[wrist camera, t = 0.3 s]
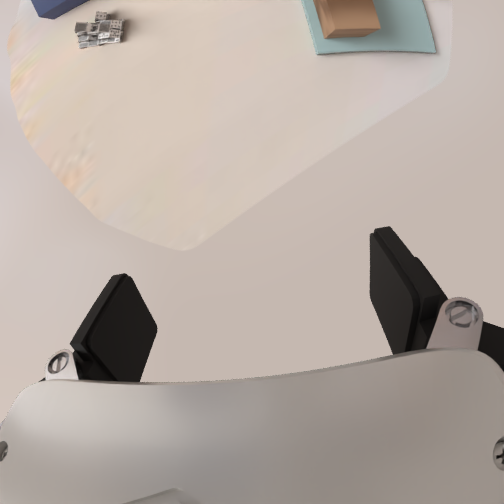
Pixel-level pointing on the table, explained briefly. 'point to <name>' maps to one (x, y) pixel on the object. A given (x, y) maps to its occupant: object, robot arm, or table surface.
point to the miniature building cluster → (99, 31)
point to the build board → (380, 30)
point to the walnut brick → (347, 18)
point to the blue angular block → (55, 7)
